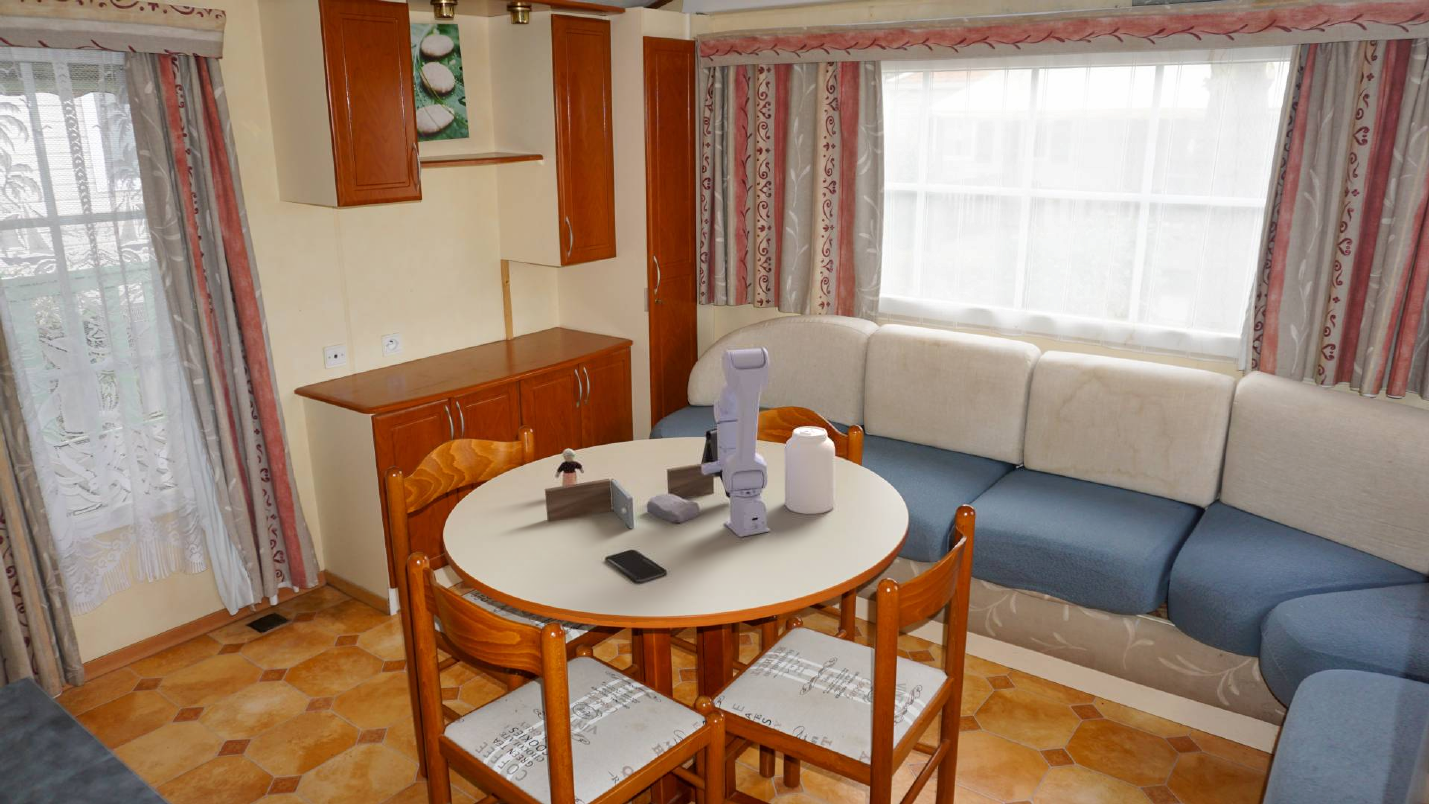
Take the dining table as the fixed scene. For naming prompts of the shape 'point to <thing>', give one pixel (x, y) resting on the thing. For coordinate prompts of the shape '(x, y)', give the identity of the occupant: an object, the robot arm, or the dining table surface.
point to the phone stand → (710, 448)
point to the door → (622, 503)
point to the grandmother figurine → (569, 468)
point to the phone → (635, 566)
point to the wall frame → (598, 493)
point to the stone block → (672, 508)
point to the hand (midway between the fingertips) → (729, 496)
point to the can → (809, 471)
